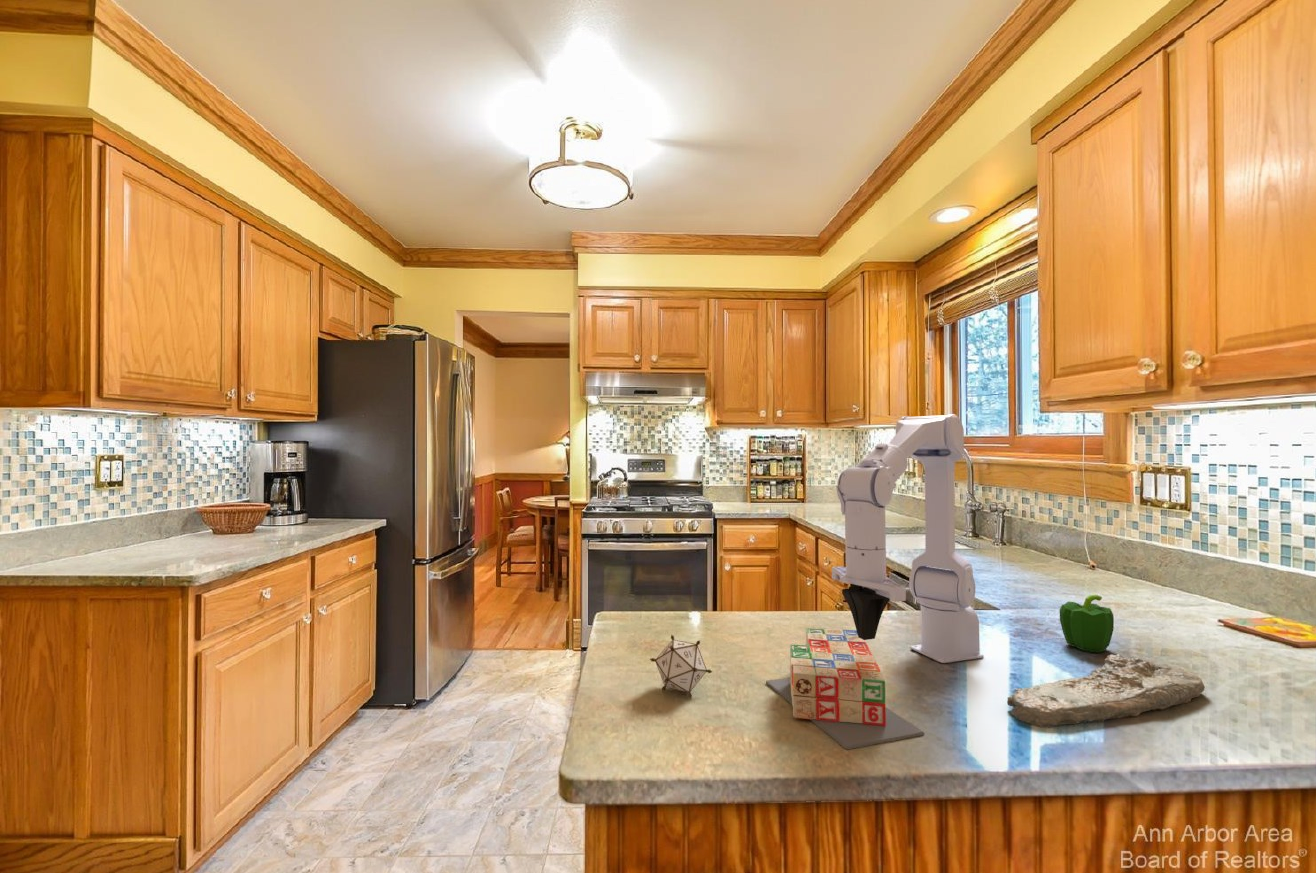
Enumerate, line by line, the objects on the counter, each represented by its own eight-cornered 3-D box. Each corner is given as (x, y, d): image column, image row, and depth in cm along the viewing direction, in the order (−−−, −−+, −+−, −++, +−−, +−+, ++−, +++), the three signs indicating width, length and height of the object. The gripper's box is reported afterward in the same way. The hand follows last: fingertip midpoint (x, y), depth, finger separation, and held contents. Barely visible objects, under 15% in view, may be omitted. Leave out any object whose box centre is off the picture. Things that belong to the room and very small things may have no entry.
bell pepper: (1067, 653, 103) (1066, 598, 103) (1054, 638, 110) (1053, 588, 111) (1123, 659, 100) (1122, 602, 100) (1106, 644, 107) (1105, 591, 108)
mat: (830, 673, 94) (830, 671, 94) (924, 734, 74) (924, 731, 74) (765, 683, 90) (765, 680, 90) (846, 749, 70) (846, 746, 70)
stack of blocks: (862, 666, 96) (788, 661, 98) (861, 629, 96) (788, 625, 99) (886, 727, 75) (791, 718, 78) (885, 680, 75) (791, 672, 78)
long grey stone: (987, 715, 83) (1052, 753, 73) (986, 680, 82) (1052, 714, 73) (1150, 672, 93) (1226, 701, 83) (1150, 641, 93) (1226, 666, 83)
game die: (679, 721, 85) (658, 682, 80) (655, 682, 93) (634, 644, 88) (727, 686, 88) (709, 646, 83) (700, 650, 95) (682, 612, 90)
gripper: (815, 540, 90) (816, 625, 89) (875, 557, 76) (876, 657, 76) (852, 538, 92) (853, 621, 92) (917, 554, 78) (919, 652, 78)
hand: (866, 637), depth 84 cm, fingers closed
